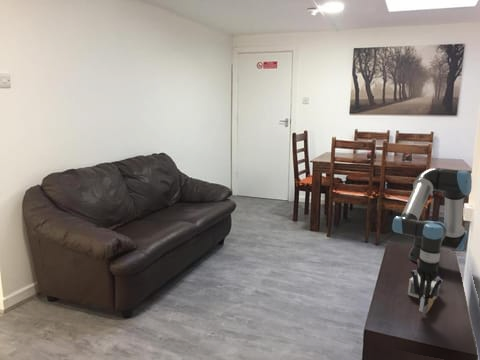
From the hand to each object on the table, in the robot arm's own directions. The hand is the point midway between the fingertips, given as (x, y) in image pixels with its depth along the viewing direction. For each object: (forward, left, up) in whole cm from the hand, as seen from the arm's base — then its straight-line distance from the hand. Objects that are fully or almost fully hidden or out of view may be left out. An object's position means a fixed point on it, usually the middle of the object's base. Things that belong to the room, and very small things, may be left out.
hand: (422, 310), depth 173 cm
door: (-6, 0, -2) cm, 7 cm away
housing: (-20, -6, -2) cm, 21 cm away
